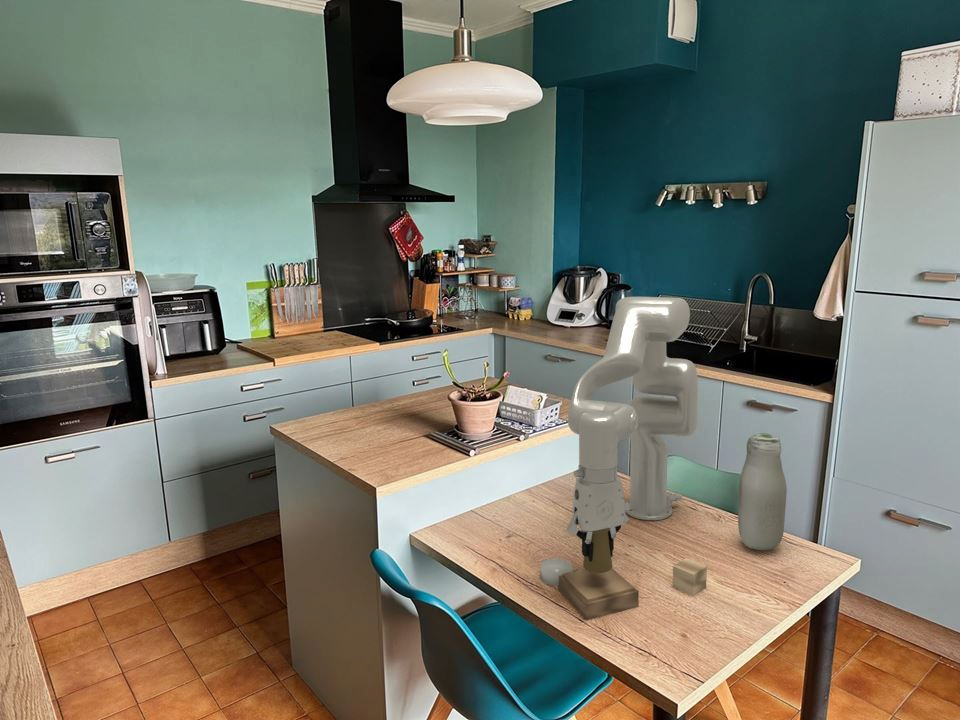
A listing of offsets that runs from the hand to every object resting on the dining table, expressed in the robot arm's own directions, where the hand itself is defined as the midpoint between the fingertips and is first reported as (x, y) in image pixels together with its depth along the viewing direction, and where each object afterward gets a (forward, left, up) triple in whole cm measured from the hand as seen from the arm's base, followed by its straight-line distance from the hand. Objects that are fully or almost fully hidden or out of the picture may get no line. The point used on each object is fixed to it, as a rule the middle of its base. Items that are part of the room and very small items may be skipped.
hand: (597, 555), depth 142 cm
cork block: (-20, +4, -10) cm, 23 cm away
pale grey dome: (+4, -11, -10) cm, 15 cm away
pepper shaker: (0, 0, -2) cm, 2 cm away
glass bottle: (-46, -4, -10) cm, 47 cm away
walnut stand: (0, 0, -10) cm, 10 cm away
